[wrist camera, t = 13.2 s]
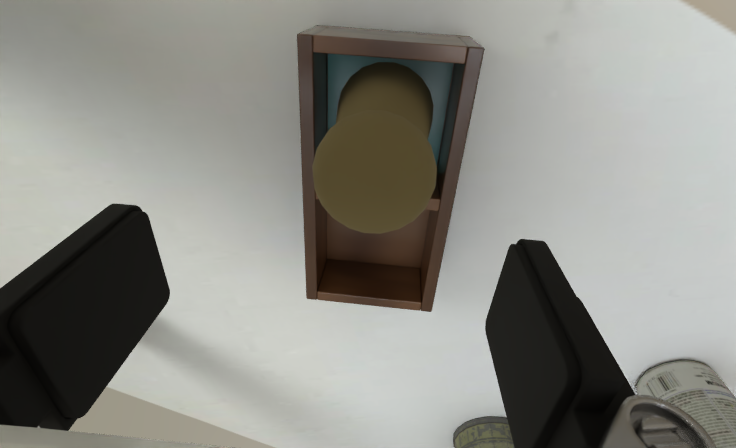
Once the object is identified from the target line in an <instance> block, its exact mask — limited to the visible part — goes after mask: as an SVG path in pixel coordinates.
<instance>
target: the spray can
mask: <svg viewBox="0 0 736 448" xmlns="http://www.w3.org/2000/svg"><path fill="white" fill-rule="evenodd" d="M637 392H638V395H650V396H653V397H657V398H661V399H663V400H665V401H667V402H669V403H671V404H674V405H676V406H677V407H679V408H680V409H682V410H683V411H685V412H686V413H687V414H689V415H690V416H691V417H693V418H694V419H695V420H696V421H697V422H698V423H699V424H700V425H701V426H702V427H703V428H704V429H705V430H706V432H707V433H708V434H709V435H710V437H711V438H712V439H713V441H714V443H715V445H716V447H717V448H736V398H735V396H734V395H733V394H732V393H731V391H730V390H729V389H728V388H727V387H726V385H725V384H724V382H723V381H722V380H721V379H720V378H719V377H718V375H717V374H716V373H715V372H714V371H713V370H711V368H709V366H707V365H705V364H703V363H700V362H696V361H690V360H686V361H685V360H680V361H675V362H670V363H664V364H661V365H659V366H656V367H654V368H651V369H649V370H648V371H647V372H646V373H645V374H644V375H643V376H642V377H641V378H640V380H639V382H638V384H637Z"/></svg>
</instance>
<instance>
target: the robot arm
mask: <svg viewBox="0 0 736 448" xmlns="http://www.w3.org/2000/svg"><path fill="white" fill-rule="evenodd" d="M169 296H170V290H169V286H168V283H167V279H166V276H165V272H164V269H163V265H162V262H161V258H160V255H159V252H158V248H157V245H156V241H155V238H154V234H153V231H152V227H151V224H150V221H149V217H148V215H147V214H146V213H145V212H142V210H141V208H140V207H138V206H136V205H124V204H111V205H109V206H108V207H107V208H105V209H104V210H103V211H101V212H100V213H99V214H97V215H96V216H95V217H93V218H92V219H91V220H89V221H88V222H87V223H86V224H84V225H83V226H82V227H80V228H79V229H78V230H76V231H75V232H74V233H72V234H71V235H70V236H68V237H67V238H66V239H65V240H63V241H62V242H61V243H59V244H58V245H57V246H55V247H54V248H53V249H51V250H50V251H49V252H47V253H46V254H45V255H44V256H42V257H41V258H40V259H38V260H37V261H36V262H34V263H33V264H32V265H30V266H29V267H28V268H26V269H25V270H24V271H23V272H21V273H20V274H19V275H17V276H16V277H15V278H13V279H12V280H11V281H9V282H8V283H7V284H5V285H4V286H3V287H2V288H0V448H233V447H224V446H214V445H204V444H195V443H184V442H175V441H164V440H156V439H145V438H135V437H124V436H114V435H105V434H94V433H85V432H74V431H68V430H69V429H70V427H71V426H72V425H73V424H74V422H75V421H76V420H77V418H81V417H83V416H84V415H85V414H86V413H87V412H88V411H89V409H90V408H91V406H92V405H93V404H94V402H95V401H96V400H97V398H98V397H99V396H100V394H101V393H102V392H103V390H104V389H105V387H106V386H107V385H108V383H109V382H110V381H111V379H112V378H113V376H114V375H115V374H116V372H117V371H118V370H119V368H120V367H121V365H122V364H123V363H124V361H125V360H126V359H127V357H128V356H129V354H130V353H131V352H132V350H133V349H134V348H135V346H136V345H137V343H138V342H139V341H140V339H141V338H142V337H143V335H144V334H145V333H146V331H147V330H148V328H149V327H150V326H151V324H152V323H153V322H154V320H155V319H156V317H157V316H158V315H159V313H160V312H161V311H162V309H163V308H164V306H165V305H166V304H167V302H168V299H169ZM485 329H486V335H487V339H488V343H489V347H490V351H491V355H492V359H493V363H494V367H495V371H496V375H497V379H498V383H499V388H500V392H501V396H502V400H503V404H504V408H505V412H506V416H507V420H508V424H509V428H510V432H511V436H512V440H513V444H514V448H717V447H716V445H715V443H714V441H713V439H712V438H711V437H710V435H709V434H708V433H707V432H706V430H705V429H704V428H703V427H702V426H701V425H700V424H699V423H698V422H697V421H696V420H695V419H694V418H693V417H691V416H690V415H689V414H687V413H686V412H685V411H683V410H682V409H680V408H679V407H677V406H676V405H674V404H671V403H669V402H667V401H665V400H663V399H661V398H657V397H653V396H650V395H635V393H634V391H633V390H632V388H631V386H630V384H629V383H628V381H627V379H626V378H625V376H624V374H623V372H622V371H621V369H620V367H619V365H618V364H617V362H616V360H615V358H614V357H613V355H612V353H611V351H610V350H609V348H608V346H607V345H606V343H605V341H604V339H603V338H602V336H601V334H600V332H599V331H598V329H597V327H596V325H595V324H594V322H593V320H592V319H591V317H590V315H589V313H588V312H587V310H586V308H585V306H584V305H583V303H582V302H581V300H580V299H579V298H578V297H576V295H575V293H574V291H573V290H572V288H571V286H570V284H569V283H568V281H567V279H566V277H565V275H564V274H563V272H562V270H561V268H560V267H559V265H558V263H557V261H556V260H555V258H554V256H553V254H552V253H551V251H550V249H549V247H548V246H547V244H546V243H545V242H544V241H537V240H525V239H520V240H519V241H518V242H517V244H511V245H510V247H509V249H508V252H507V255H506V258H505V262H504V265H503V268H502V271H501V274H500V277H499V281H498V284H497V287H496V290H495V293H494V296H493V300H492V303H491V306H490V309H489V312H488V315H487V319H486V326H485ZM38 426H39V427H40V428H37V427H38Z"/></svg>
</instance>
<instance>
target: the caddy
mask: <svg viewBox="0 0 736 448" xmlns="http://www.w3.org/2000/svg"><path fill="white" fill-rule="evenodd" d="M297 47H298V74H299V102H300V130H301V158H302V185H303V213H304V241H305V269H306V296H307V299H315V300H316V299H318V300H325V301H335V302H344V303H353V304H363V305H372V306H382V307H391V308H400V309H410V310H420V309H421V311H428V312H431V311H432V307H433V302H434V297H435V292H436V287H437V282H438V277H439V272H440V267H441V262H442V257H443V252H444V247H445V242H446V237H447V232H448V227H449V222H450V217H451V212H452V208H453V203H454V198H455V193H456V188H457V183H458V178H459V173H460V168H461V163H462V158H463V153H464V148H465V143H466V138H467V133H468V128H469V123H470V118H471V113H472V109H473V104H474V99H475V94H476V89H477V84H478V79H479V74H480V69H481V64H482V59H483V54H484V47H482V46H481V45H480V44H478V43H477V42H476V41H475V40H473V38H471V37H470V36H457V35H444V34H430V33H417V32H403V31H390V30H376V29H363V28H349V27H336V26H322V25H317V26H315V27H313V28H311V29H308V30H306V31H303V32H301V33H299V34H297ZM377 62H395V63H398V64H400V65H403V66H406V67H409V68H410V69H411V70H413V71H414V72H415V73H416V74H418V75H419V76H420V77H421V78H422V79H423V81H424V82H425V84H426V85H427V87H428V89H429V90H430V93H431V97H432V101H433V105H434V108H433V121H432V125H431V129H430V133H429V137H428V142H429V143H430V145H431V147H432V151H433V154H434V158H435V162H436V167H437V175H436V186H435V189H434V191H433V194H432V196H431V198H430V200H429V202H428V205H427V207H426V209H425V210H424V211H423V212H422V213H421V214H420V215H419V216H418V217H417V218H416V219H415V220H414V221H413V222H411V223H409V224H407V225H405V226H404V227H402V228H400V229H398V230H394V231H390V232H385V233H381V234H376V233H363V232H359V231H356V230H353V229H350V228H348V227H346V226H345V225H343V224H341V223H340V222H338V221H337V220H335V219H334V218H333V217H332V216H331V215H330V214H329V213H328V212H327V211H326V209H325V208H324V207H323V206H322V205H321V203H320V201H319V198H318V196H317V194H316V192H315V189H314V180H313V168H312V166H313V162H314V158H315V154H316V150H317V147H318V146H319V144H320V143H321V141H322V140H323V138H324V137H325V135H326V134H327V132H328V131H329V129H330V128H331V127H333V126H334V125H335V124H336V117H337V107H338V102H339V98H340V94H341V91H342V89H343V87H344V86H345V84H346V83H347V81H348V80H349V78H350V77H351V76H352V75H353V74H355V73H356V72H357V71H359V70H360V69H361V68H362V67H365V66H368V65H371V64H374V63H377Z"/></svg>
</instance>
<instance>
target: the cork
mask: <svg viewBox="0 0 736 448" xmlns="http://www.w3.org/2000/svg"><path fill="white" fill-rule="evenodd" d="M433 108H434V105H433V101H432V97H431V93H430V90H429V89H428V87H427V85H426V84H425V82H424V81H423V79H422V78H421V77H420V76H419V75H418V74H416V73H415V72H414V71H413V70H411V69H410V68H409V67H406V66H403V65H400V64H398V63H395V62H377V63H374V64H371V65H368V66H365V67H362V68H361V69H360V70H359V71H357V72H356V73H355V74H353V75H352V76H351V77H350V78H349V80H348V81H347V83H346V84H345V86H344V87H343V89H342V91H341V94H340V98H339V102H338V107H337V117H336V124H335V125H334V126H333V127H331V128H330V129H329V131H328V132H327V134H326V135H325V137H324V138H323V140H322V141H321V143H320V144H319V146H318V147H317V150H316V154H315V158H314V162H313V166H312V168H313V180H314V189H315V192H316V194H317V196H318V198H319V201H320V203H321V205H322V206H323V207H324V208H325V209H326V211H327V212H328V213H329V214H330V215H331V216H332V217H333V218H334V219H335V220H337V221H338V222H340V223H341V224H343V225H345V226H346V227H348V228H350V229H353V230H356V231H359V232H363V233H376V234H381V233H385V232H390V231H394V230H398V229H400V228H402V227H404V226H405V225H407V224H409V223H411V222H413V221H414V220H415V219H416V218H417V217H418V216H419V215H420V214H421V213H422V212H423V211H424V210H425V209H426V207H427V205H428V202H429V200H430V198H431V196H432V194H433V191H434V189H435V186H436V175H437V167H436V162H435V158H434V154H433V151H432V147H431V145H430V143H429V142H428V137H429V133H430V129H431V125H432V121H433Z"/></svg>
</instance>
